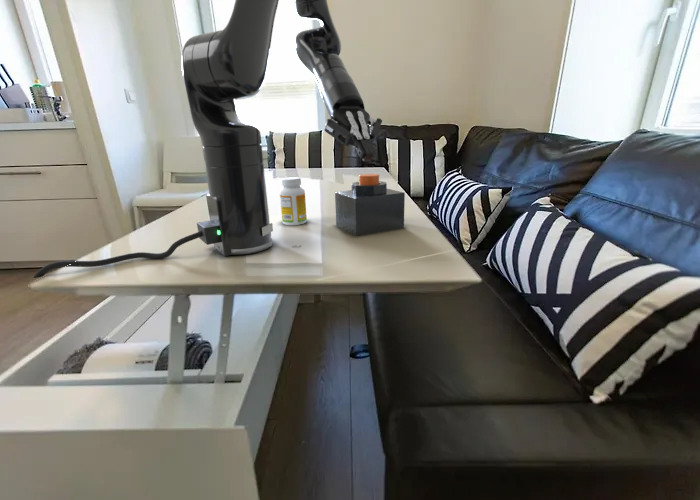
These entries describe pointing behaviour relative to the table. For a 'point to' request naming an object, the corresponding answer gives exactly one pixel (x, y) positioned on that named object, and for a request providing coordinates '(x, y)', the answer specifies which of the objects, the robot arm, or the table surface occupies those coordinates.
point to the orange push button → (368, 179)
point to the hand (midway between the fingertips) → (368, 158)
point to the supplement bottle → (293, 202)
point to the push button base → (369, 209)
